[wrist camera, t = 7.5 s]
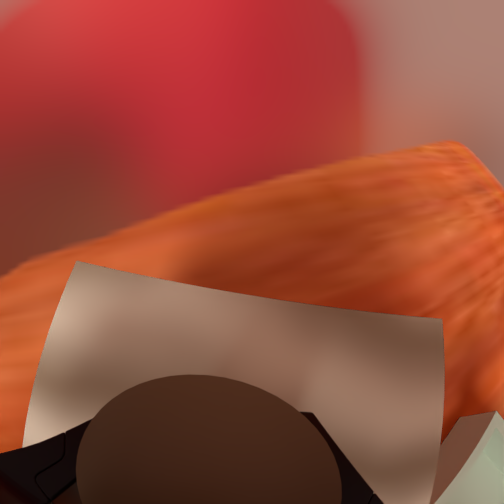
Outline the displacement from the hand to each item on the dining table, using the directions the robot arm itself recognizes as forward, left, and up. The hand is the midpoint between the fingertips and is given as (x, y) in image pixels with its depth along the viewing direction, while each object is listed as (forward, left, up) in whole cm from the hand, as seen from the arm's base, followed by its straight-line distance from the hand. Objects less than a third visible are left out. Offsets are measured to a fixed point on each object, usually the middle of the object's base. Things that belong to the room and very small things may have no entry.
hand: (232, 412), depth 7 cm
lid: (-1, 0, -4) cm, 4 cm away
